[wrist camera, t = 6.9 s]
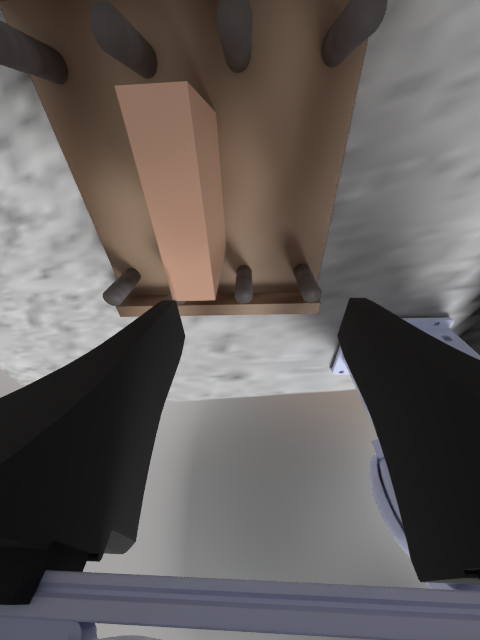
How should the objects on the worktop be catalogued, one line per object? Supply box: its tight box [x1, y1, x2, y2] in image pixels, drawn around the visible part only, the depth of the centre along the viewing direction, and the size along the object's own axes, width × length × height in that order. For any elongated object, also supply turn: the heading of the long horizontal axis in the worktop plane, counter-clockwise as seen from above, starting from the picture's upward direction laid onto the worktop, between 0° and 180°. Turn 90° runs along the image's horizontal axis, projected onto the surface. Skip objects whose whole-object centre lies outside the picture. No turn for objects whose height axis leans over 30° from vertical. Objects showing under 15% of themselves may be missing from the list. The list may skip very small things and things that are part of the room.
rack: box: [0, 0, 387, 317], centre depth 13 cm, size 16×17×5 cm
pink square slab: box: [115, 81, 226, 301], centre depth 11 cm, size 2×7×7 cm, turn 2°
